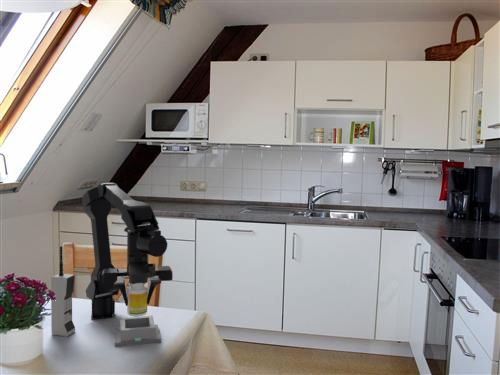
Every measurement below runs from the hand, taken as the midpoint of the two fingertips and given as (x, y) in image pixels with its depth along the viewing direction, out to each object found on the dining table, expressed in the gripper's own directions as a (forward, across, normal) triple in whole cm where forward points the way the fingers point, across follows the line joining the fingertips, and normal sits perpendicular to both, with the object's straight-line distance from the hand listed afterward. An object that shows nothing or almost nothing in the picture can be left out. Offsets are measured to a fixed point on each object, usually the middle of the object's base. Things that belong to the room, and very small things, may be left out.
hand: (137, 304), depth 121 cm
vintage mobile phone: (+10, -20, +7) cm, 23 cm away
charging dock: (+9, 0, 0) cm, 9 cm away
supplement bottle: (+3, 0, 0) cm, 3 cm away
